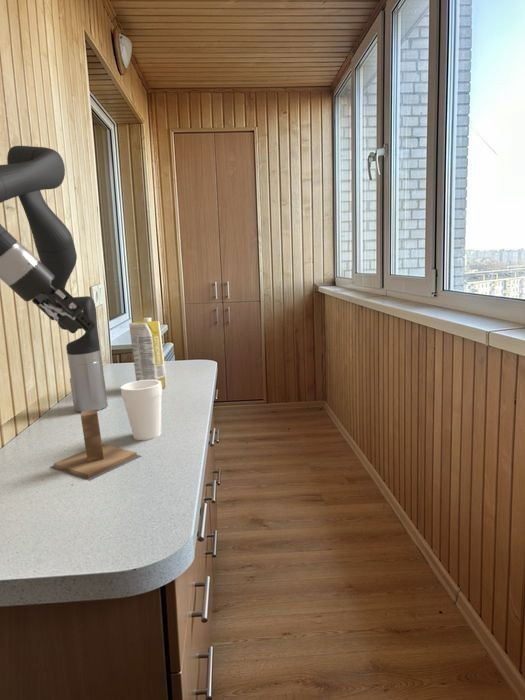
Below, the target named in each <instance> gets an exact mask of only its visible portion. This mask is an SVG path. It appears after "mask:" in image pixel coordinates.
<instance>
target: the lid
mask: <svg viewBox="0 0 525 700" xmlns="http://www.w3.org/2000/svg"><path fill="white" fill-rule="evenodd" d="M80 420H81V426H82V433H83V434H82V435H83V441H84V447H85V450H84V451H81V452H78V453H76V454H73V455H71V456H68V457H66V458H64V459H61V460H59V461H57V462H54V463H53V465H54V467H55V468H58V469H61V470H64V471H68V472H71V473H74V474H77V475H80V476H83V477H86V478H91V477H93V476H95V475H97V474H100V473H102V472H104V471H106V470H108V469H110V468H112V467H115V466H117V465H119V464H121V463H123V462H125V461H127V460H130V459H132V458H134V457H136V456H137V455H138V452H136V451H131V450H128V449H124V448H120V447H117V446H112V445H108V444H104V443H102V437H101V429H100V421H99V414H98V410H91V411H84V412H80Z"/></svg>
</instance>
